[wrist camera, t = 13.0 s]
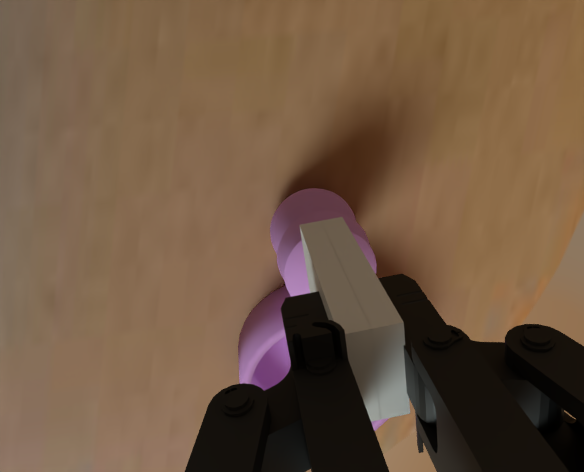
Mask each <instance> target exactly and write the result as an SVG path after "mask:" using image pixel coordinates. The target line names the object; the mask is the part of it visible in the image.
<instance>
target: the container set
mask: <svg viewBox="0 0 584 472" xmlns="http://www.w3.org/2000/svg"><path fill="white" fill-rule="evenodd" d="M338 217H343V219H344V221H345V222H346V224H347V226H348V228H349V229H350V231H351V233H352V234H353V236H354V238H355V240H356V241H357V243H358V245H359V247H360V248H361V250H362V252H363V253H364V255H365V257H366V259H367V260H368V262H369V264H370V265H371V267H372V269H373V271H374V272H375V274H376V267H377V264H376V259H375V255H374V253H373V250H372V248H371V247H370V244H369V240H368V238H367V236H366V233H365V231H364V230H363V229H362V227H361V226H360V225H359V224H358V223H357V222H356V218H355V215H354V213H353V211H352V209H351V208H350V206H349V205H348V204H347V202H346V201H345V200H344V199H343V198H341V197H340V196H339V195H337V194H335V193H334V192H331V191H328V190H325V189H318V188H310V189H304V190H300V191H298V192H296V193H294V194H292V195H290V196H289V197H287V198H286V199H285V200H284V201H283V202H282V203H281V204H280V205H279V207H278V208H277V210H276V212H275V213H274V216H273V218H272V221H271V227H270V233H271V241H272V244H273V248H274V250H275V251H276V253H277V264H278V268H279V271H280V273H281V275H282V277H283V279H284V281H285V284H286V286H284V287H282V288H280V289H278V290H275V291H274V292H272V293H271V294H270V295H268V296H267V297H265V298H264V299H263V300H262V301H261V302H260V303H259V304H258V305H257V306H256V307H255V308H254V309H253V310H252V311H251V313H250V314H249V316H248V317H247V319H246V321H245V322H244V325H243V328H242V330H241V333H240V337H239V345H238V355H239V378H240V384H242V383H246V384H254V385H256V386H258V387H260V388H262V389H263V391H264V390H266V389H269V388H271V387H272V386H274V385H276V384H278V383H279V382H280V381H281V380H283V379H284V378H285V376H286V375H287V374H288V372H289V370H290V367H291V361H290V356H289V351H288V346H287V340H286V335H285V330H284V324H283V319H282V314H281V306H282V304H283V302H284V300H285V298H287V297H292V296H297V295H302V294H307V293H310V289H309V283H308V276H307V270H306V264H305V257H304V251H303V245H302V238H301V232H300V225H301V224H306V223H312V222H317V221H322V220H328V219H333V218H338ZM387 420H388V418H386V419H381V420H377V421H372V422H371V423H372V426H373V429H374V431H375V430H376V429H377V428H379V427H380V426H381V425H382V424H383V423H384V422H385V421H387Z"/></svg>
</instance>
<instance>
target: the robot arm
mask: <svg viewBox="0 0 584 472" xmlns="http://www.w3.org/2000/svg"><path fill="white" fill-rule="evenodd" d="M300 232H301V238H302V245H303V251H304V257H305V264H306V270H307V276H308V283H309V289H310V293H307V294H302V295H297V296H292V297H287V298H285V300H284V302H283V304H282V306H281V314H282V319H283V324H284V330H285V335H286V340H287V346H288V351H289V356H290V361H291V367H290V370H289V372H288V374H287V375H286V376H285V378H284V379H283V380H281V381H280V382H279V383H278V384H276V385H274V386H272V387H271V388H269V389H266V390H264V391H263V389H262V388H260V387H258V386H256V385H254V384H246V383H242V384H236V385H232V386H230V387H227V388H225V389H223V390H221V391H220V392H219V393H218V394H216V395H215V396H214V397H213V399H212V400H211V402H210V404H209V405H208V408H207V411H206V414H205V416H204V419H203V422H202V425H201V428H200V430H199V433H198V436H197V439H196V442H195V444H194V447H193V450H192V453H191V456H190V458H189V461H188V464H187V467H186V470H185V472H305V471H307V470H309V469H311V471H312V472H389V470H388V467H387V465H386V462H385V459H384V456H383V453H382V451H381V448H380V445H379V442H378V440H377V437H376V434H375V431H374V429H373V426H372V423H371V422H372V421H377V420H381V419H386V418H391V417H396V416H400V415H405V414H410V406H409V398H410V400H411V403H412V405H413V407H414V409H415V413H416V429H417V444H418V450H419V453H421V452H423V443H424V445H425V447H426V449H427V451H428V453H429V455H430V458H431V460H432V462H433V464H434V466H435V468H436V471H437V472H584V346H582V345H581V344H579V343H577V342H576V341H574V340H573V339H571V338H569V337H568V336H566V335H565V334H563V333H561V332H560V331H558V330H555V329H553V328H551V327H548V326H543V325H539V324H524V325H520V326H516V327H514V328H512V329H511V330H509V331H508V333H507V335H506V337H505V343H503V342H477V341H472V340H470V339H469V337H468V336H467V335H466V334H465V333H464V332H463V331H462V330H460V329H458V328H456V327H453V326H451V325H446V323H445V322H444V321H443V319H442V318H441V316H440V315H439V314H438V312H437V311H436V309H435V308H434V307H433V305H432V304H431V302H430V301H429V300H428V299H427V297H426V295H425V294H424V293H423V292H422V290H421V288H420V287H419V286H418V284H417V283H416V281H415V280H413V279H411V278H409V277H407V276H406V275H404V274H398V275H393V276H388V277H383V278H378V277H377V276H376V274H375V272H374V271H373V269H372V267H371V265H370V264H369V262H368V260H367V259H366V257H365V255H364V253H363V252H362V250H361V248H360V247H359V245H358V243H357V241H356V240H355V238H354V236H353V234H352V233H351V231H350V229H349V228H348V226H347V224H346V222H345V221H344V219H343V217H338V218H333V219H328V220H322V221H317V222H312V223H306V224H301V225H300ZM564 410H565V411H567V412H568V413H569V414H570V415H572V416H573V417H574V418H576V419H574V418H572V417H570V416H569V415H568V414H566V413H565V412H564Z"/></svg>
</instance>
